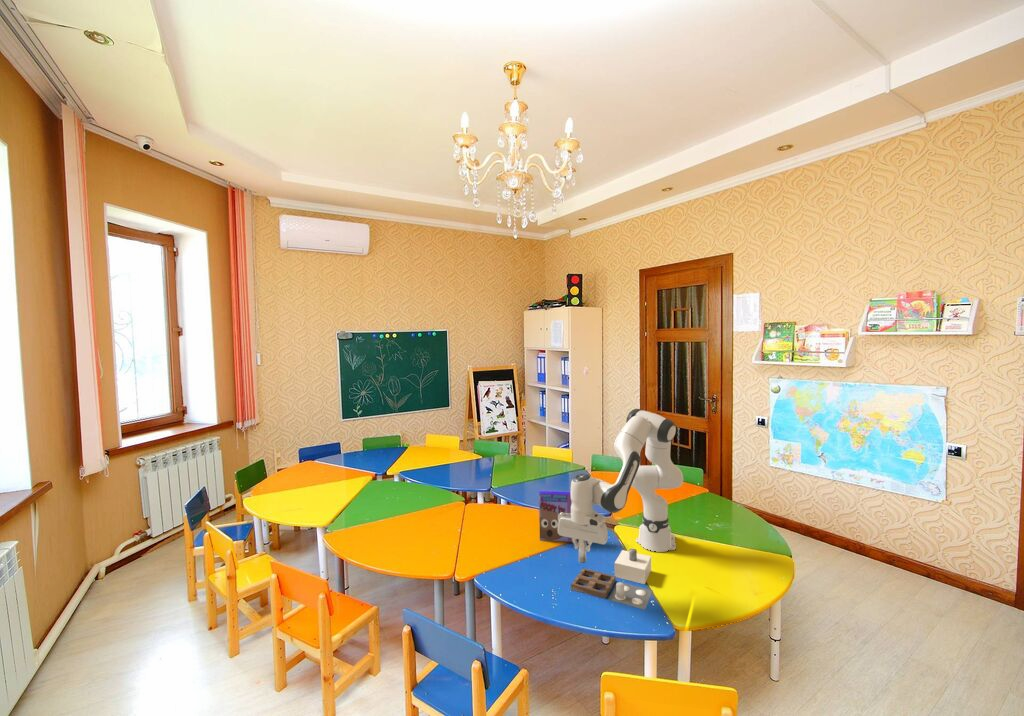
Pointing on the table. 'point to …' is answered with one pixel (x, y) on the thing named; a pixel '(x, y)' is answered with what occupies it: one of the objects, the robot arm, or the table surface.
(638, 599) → the board
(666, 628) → the table surface
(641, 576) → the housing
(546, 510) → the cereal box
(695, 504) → the table surface
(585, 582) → the socket board
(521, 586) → the table surface
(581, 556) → the steel pin
